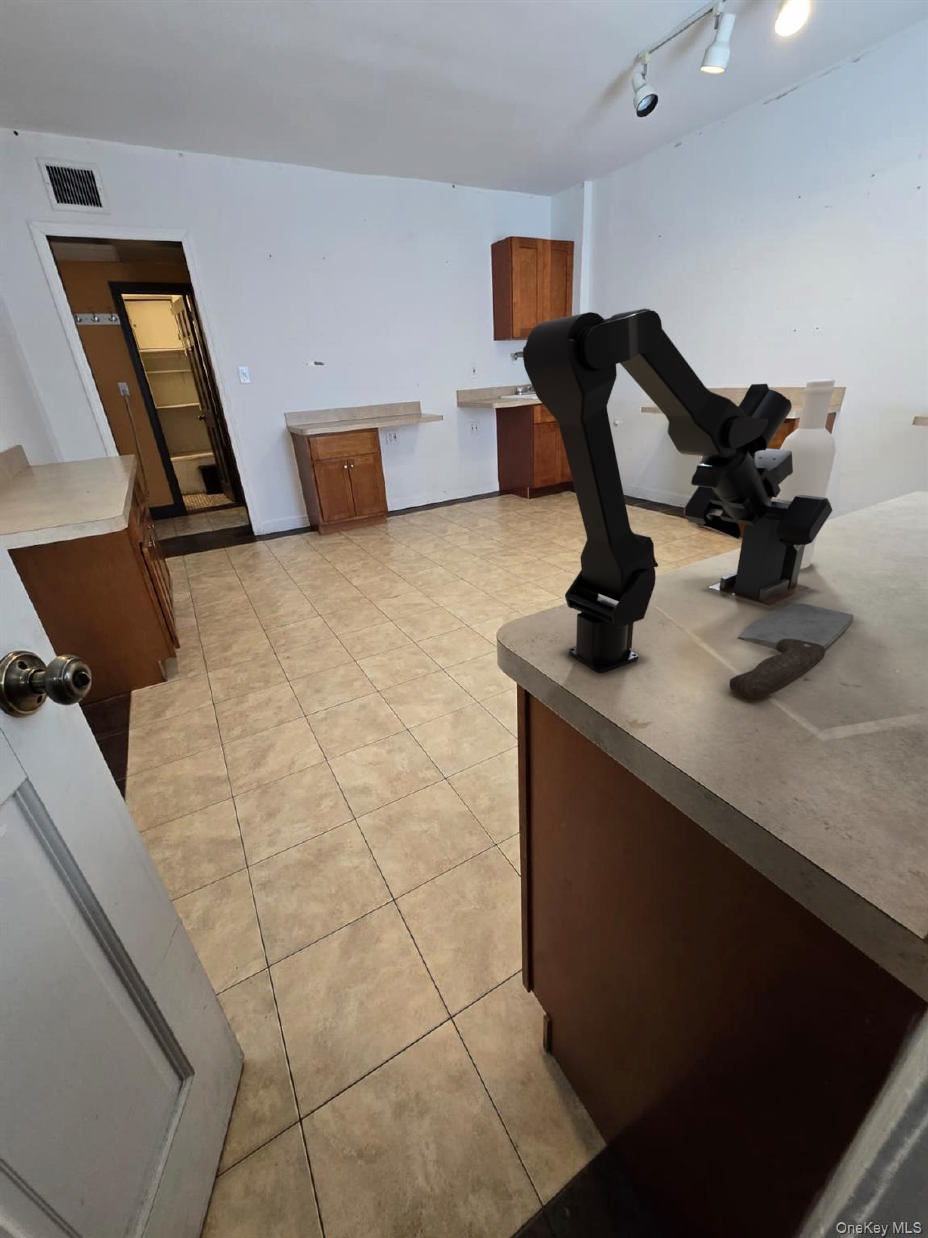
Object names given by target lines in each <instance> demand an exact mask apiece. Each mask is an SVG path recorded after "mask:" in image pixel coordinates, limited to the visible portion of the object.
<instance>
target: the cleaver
mask: <svg viewBox="0 0 928 1238" xmlns="http://www.w3.org/2000/svg"><path fill="white" fill-rule="evenodd" d="M853 620H854V614H852V613H848V612H843V611H838V610H834V609H830V608H829V609H828V608H825V607H820V606H815V605H812V604H811V605H810V604H806V603H802V602H801V603H800V602H793V603H790V604H788V605H786V606H782V607H781V608H777V609H776V610H774V611H771V612H770V613H767V614H765V615H763V616H762V617H760V618H758V619H756V620H754V621H753V622H752V623H750V625H748V626H747V627H746V628H744V629H743V631H742V632H741V633H740V634H739V635H738V636H737V638H739V639H741V640H744V641H746V642H748V643H752V644H757V645H760V646H764V647H767V648H770V649H773V650H776V651H778V652H779V654H776V655H772V656H770V657H768V658H765V659H763V660H761V661H760V662H759V663H758V664H757V665H756V667H755V668H753V669H752V670H749V671H746V672H743V673H740V674H737V675H735V676H733V677H732V678H730V679H729V682H728V683H729V685H728V686H729V689H730V691H732V692H734V693H736V694H739V695H741V696H744V697H746V698H748V699H749V698H750V699H759V698H762V697H764V696H767V695H769V694H771V693H773V692H775V691H777V690H780V689H781V688H782V687H784V686H786V685H787V684H789V683H791V682H793V681H795V680H796V679H797V678H799V677H800V676H802V675H803V674H805V673H806V672H808V671H810V669H812V668H813V667H814V666H816V665H817V664H818V663H820V662H821V660H823V658H824V657H825V654H826V649H828V648H829V647H830V646H832V644H833V643H834V642H835V641H836V640H837V639H838V638H840V636H841V635H843V633H845V631H846V630H847V629H848V628H849V626H850V625H851V623H852V622H853Z"/></svg>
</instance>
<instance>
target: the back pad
mask: <svg viewBox="0 0 928 1238" xmlns="http://www.w3.org/2000/svg"><path fill="white" fill-rule="evenodd" d="M778 522H779V520H773V519H767V518H761V519H758V521H757V522H756V524H755V525H754V526H752V525H747V524H744V526H743V531H742V532H743V533H742V539H741V546H740V550H739V551H740V552H739V557H738V563H737V570H736V572H737V575H736V581H735V587H734V591H735V592H738V593H741V594H744V595H747V596H750V597H754V598H757V599H758V598H759V594H760V589H761V588H764V587H766V586H768V585H771V584H773V583H776V582H778V581H780V577H781V572H782V567H783V562H784V557H785V552H786V547H787V546H786V545H784V544H782V543H781V542H779V539H780V538H779V537H778V536H777V534H776V530H777V525H778Z"/></svg>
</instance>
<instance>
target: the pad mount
mask: <svg viewBox="0 0 928 1238" xmlns="http://www.w3.org/2000/svg"><path fill="white" fill-rule="evenodd" d="M771 501H775V502H782V503H789V504H791V502H792V501H787V500H779V499H771ZM804 548H805V545H802V546H801V548H800V549H799V551H794V550H792V549H790V548H789V547H786V552H785V557H784V562H783V567H782V572H781V577H780V581H778V582H776V583H773V584H771V585H768V586H766V587H764V588H761V589H760V594H759V598H758V599H757V598H754V597H750V596H747V595H744V594H741V593H738V592H735V591H734V587H735V581H736V575H737V571H735V572H733V573H729V574H728V575H725V576H722V577H720V581H719V582H718V583H716V584H713V585H710V586H708V589H711V590H715V591H718V592H721V593H725V594H728V595H732V596H734V597H738V598H740V599H745V600H748V601H751V602H754V603H758V604H761V605H764V606H767V607H771V606H773V605H776V604H777V603H780V602H782V601H784V600H786V599H789V598H790V597H793V596H795V595H797V594H799V593H801V592H803V591H806V590H808V589H810V588H811V587H810V586H806V585H802V584H798V581H799V576H800V571H801V569H800V567H801V562H802V558H803V553H804Z"/></svg>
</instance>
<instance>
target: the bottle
mask: <svg viewBox="0 0 928 1238" xmlns="http://www.w3.org/2000/svg"><path fill="white" fill-rule="evenodd" d="M835 383H836V380H835V379H834V378H824V379H823V378H822V379H809V380H808V381H806V385H805V388H804V390H803V394H804V396H803V400H802V406H801V411H800V416H799V420H798V427H797V428H796V429H795V430H794V431H792V432H791V433H790V434H789V435H787V436H786V437H785V439H784V441H783V443H781V446H780V448H779V449H782V450H790V451H792V463H793V473H792V474H791V475H789V476H787V477H786V478H785V479H784V480H783V481H782V482H781V483H780V484H779V487H780V490H781V491H780V492H779V494H778V496H777V497H776V498H775V497H772V499H779V500H787V501H793V499H794V497H795V496H798V495H807V496H815V497H823V498H827V493H828V487H829V482H830V478H831V474H832V469H833V465H834V460H835V456H836V453H837V452H836V451H837V450H836V441H835V438H834V436H833V435H832V434H831V432H829V430H828V429H827V428H826V426H827V425H826V424H827V422H828V421H827V420H828V416H829V410H830V406H831V402H832V397H833V393H834V392H835ZM817 536H818V534H817V535H816V537H815V539H814V540H813V542H812V543H809V544H807V545H805V548H804V553H803V558H802V562H801V567H800V570H802V569H803V570H804V569H806V568H809V567H810V566H811V562H812V560H813V557H814V552H815V545H816V540H817Z"/></svg>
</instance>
